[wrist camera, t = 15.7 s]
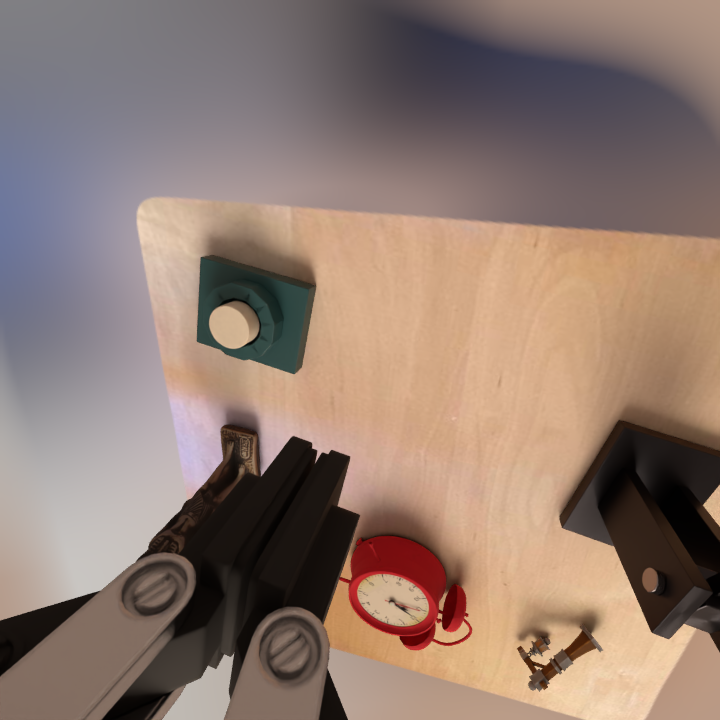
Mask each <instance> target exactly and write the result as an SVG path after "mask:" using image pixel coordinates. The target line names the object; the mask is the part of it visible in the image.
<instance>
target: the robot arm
mask: <svg viewBox="0 0 720 720" xmlns="http://www.w3.org/2000/svg"><path fill="white" fill-rule="evenodd" d="M316 456H317V450H315V449H312V443H311V442H309V441H306V440H303V439H300V438H298V437H295V436H293V437H291V438H290V440H289V441H288V442H287V444H286V445H285V446H284V448H283V449H282V450H281V452H280V453H279V454H278V455H277V457H276V458H275V459H274V461H273V462H272V463H271V465H270V466H269V467H268V469H267V470H266V471H265V472H264V474H263V475H262V476H261V477H260V476H257V475H255V474H252V473H247V474H245V475H244V476H243V477H242V478H241V479H240V481H239V482H238V483H237V484H236V485H235V487H234V488H233V489H232V490H231V491H230V493H229V494H228V495H227V496H226V497H225V499H224V500H223V501H222V502H221V503H220V505H219V506H218V507H217V508H216V510H215V511H214V512H213V513H212V514H211V516H210V517H209V518H208V519H207V520H206V522H205V523H204V524H203V525H202V526H201V528H200V529H199V530H198V531H197V532H196V534H195V535H194V536H193V537H192V538H191V540H190V541H189V542H188V543H187V544H186V546H185V547H184V548H183V549H182V550H181V552H180V553H179V554H175V553H165V552H164V553H158V554H152V555H149V556H147V557H144V558H142V559H140V560H138V561H137V562H135V563H134V564H132V565H131V566H130V567H128V568H127V569H126V570H125V571H123V572H122V573H121V574H120V575H119V576H117V577H116V578H115V579H114V580H113V581H112V582H111V583H109V584H108V585H107V586H106V587H105V588H103V589H102V590H101V591H98V592H94V593H91V594H88V595H84V596H81V597H78V598H74V599H71V600H68V601H64V602H61V603H58V604H54V605H51V606H47V607H44V608H41V609H37V610H34V611H31V612H27V613H24V614H21V615H17V616H14V617H11V618H7V619H4V620H1V621H0V720H162V719H163V718H164V716H165V715H166V714H167V712H168V711H169V709H170V708H171V707H172V705H173V704H174V703H175V701H176V700H177V699H178V697H179V696H180V695H181V693H182V691H183V690H184V688H185V686H186V684H188V683H191V682H193V681H195V680H197V679H199V678H201V677H202V675H203V673H204V672H205V670H206V668H207V666H208V665H209V666H211V667H213V668H215V669H216V668H217V666H218V665H219V663H220V661H221V659H222V657H223V655H224V654H225V655H227V656H230V657H231V656H232V655H233V654H234V659H233V667H232V673H231V680H230V687H229V695H230V703H229V706H228V709H227V712H226V715H225V718H224V720H348V719H347V716H346V714H345V711H344V708H343V706H342V704H341V701H340V698H339V696H338V693H337V691H336V688H335V686H334V683H333V681H332V678H331V676H330V673H329V671H328V668H327V667H328V660H329V647H330V643H329V639H328V635H327V631H326V629H325V628H324V626H323V624H324V621H325V618H326V616H327V613H328V610H329V607H330V604H331V601H332V598H333V595H334V593H335V590H336V587H337V584H338V581H339V578H340V575H341V572H342V570H343V567H344V564H345V561H346V558H347V555H348V552H349V549H350V546H351V543H352V540H353V536H354V533H355V530H356V527H357V524H358V520H359V517H360V515H359V514H356V513H353V512H351V511H348V510H346V509H343V508H340V507H338V502H339V498H340V495H341V491H342V487H343V483H344V480H345V476H346V472H347V469H348V465H349V461H350V456H347V455H344V454H342V453H339V452H336V451H333V450H331V451H330V453H329V454H326V453H323V452H322V453H321V455H320V457H319V458H318V460H317V462H316V463H315V461H316Z"/></svg>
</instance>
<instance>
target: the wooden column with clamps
mask: <svg viewBox="0 0 720 720" xmlns="http://www.w3.org/2000/svg"><path fill="white" fill-rule="evenodd" d="M580 627H581V629H582V632H581V633H580V635H579V636H578V637H577V638H576V639H575V640H574V641H573V643H572V644H571V645H570V646H569V647H568V648H566V649H565V650H563V649H562V650H561V651H560V652H559V653H558V654H556V655H554V659H552V658H551V659H549V660H550V662H549V663H548V664H547V665H546V666H545V665H542V664H539V663H536V662H533V661H532V660H531V659H530V656H531V655H535V653H536V654H537V653H538V654H540V655H541V656H542V653H543V652H544V651H546V650H550V649H549V647H548V646H547V645H549V644H550V639H549V638H547V637H546V638H544V640H543V639H542V638H541V636H540V638H539V639H538V640H537V641H536V642H534V643H533V641H532V644H533V647H532V649H533V650H532V649H531V648H530V651H529V653H526V652H525V651H524V649H523V648H522V647H521V646H520V647H518V648H517V650H518V651H519V653H520V656H521V657H522V659H523V660H524V662H525V663H526V664H527V665H528V667H529V669H530V670H531V672H532V674H533V675H531V676H529V677H530V679H531V681H530V682H529V683H528V686H529V688H530V689H531V690H533V691H534V690H535V689H536V688H537V689H538V690H539V692H540V690H541V689H542V688H543V689H544V690H545V689H546V688H548V686H547V684H550V683H549V682H548V681H549V680H550V679H551V678H553V677H554V676H555V675H556V674H558V673H559V674H561V673H562V672H561V670H564V671H565V670H566V668H568V667H569V666H570V665H572V664H573V663H572V661H574V660H575V659H576V658H578V657H580V656H581V655H583V654H585V653H587V652H589V651H591V650H593V649H596V648H597V649H598V650H599V651H600V652H601V651H604V650H603V649H602V648H601V646H600V645H599V644H598V642H597V641H596V640H595V639H594V637H593V636H592V635H591V634H590V632H589V631H588V630H587V629H586V627H585V626H584V625H583V624H582V625H581V626H580ZM530 652H531V653H532V654H531V653H530ZM528 654H530V656H528ZM535 656H536V655H535ZM534 666H537V667H540V668H543V669H542V670H540V669H538V670H536V668H535V667H534Z"/></svg>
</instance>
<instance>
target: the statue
mask: <svg viewBox="0 0 720 720" xmlns="http://www.w3.org/2000/svg"><path fill="white" fill-rule="evenodd" d="M221 443H222V452H223V461H222V462H221V464H220V465H219V466H218V467H217V468H216V470H215V471H214V472H213V474H212V475H211V476H210V478H209V479H208V480H207V481H206V483H205V484H204V485H203V486H202V487H201V488H200V489H199V490H198V491H197V492H196V493H195V495H194V496H193V497H192V498H191V499H189V500H187V501H186V502H185V503H184V505H183V507H182V509H181V511H180V512H178V513H177V514H176V515H175V516H174V517H173V518H172V519H171V520H170V521H169V522H168V523H167V524H166V526H165V527H164V528H163V529H162V530H161V531H160V532H158V533H157V534H156V536H155V537H154V538H153V539H152V540H151V542H150V544H149V546H148V550H147V551H146V552H145V553H144V554H143V555H142V556H140V557H139V558H138V560H140V559H142V558H144V557H147V556H149V555H152V554H158V553H164V552H165V553H175V554H179V553H180V552H181V550H182V549H183V548H184V547H185V546H186V544H187V543H188V542H189V541H190V540H191V538H192V537H193V536H194V535H195V534H196V532H197V531H198V530H199V529H200V528H201V526H202V525H203V524H204V523H205V522H206V520H207V519H208V518H209V517H210V516H211V514H212V513H213V512H214V511H215V510H216V508H217V507H218V506H219V505H220V503H221V502H222V501H223V500H224V499H225V497H226V496H227V495H228V494H229V493H230V491H231V490H232V489H233V488H234V487H235V485H236V484H237V483H238V482H239V481H240V479H241V478H242V477H243V476H244V475H245V474H247V473H252V474H255V475H257V476H260V477H261V471H260V461H259V445H258V435H257V433H256V432H254V431H252V430H249V429H246V428H242V427H238V426H234V425H230V424H229V425H224V426H223V427H222V428H221ZM138 560H137V561H138ZM137 561H136V562H137Z"/></svg>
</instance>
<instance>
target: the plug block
mask: <svg viewBox="0 0 720 720" xmlns="http://www.w3.org/2000/svg"><path fill="white" fill-rule="evenodd" d="M315 290H316V285H313V284H309V283H306V282H302V281H299V280H296V279H292V278H289V277H285V276H282V275H279V274H275V273H272V272H268V271H265V270H262V269H258V268H255V267H252V266H248V265H245V264H241V263H238V262H235V261H231V260H228V259H224V258H221V257H218V256H214V255H210V256H205V257H201V263H200V284H199V305H198V326H197V342H199V343H202V344H205V345H208V346H211V347H214V348H217V349H220V350H222V351H223V352H224V353H225V354H226V355H229V356H232V357H235V358H238V359H241V360H248V359H250V360H253V361H256V362H259V363H262V364H265V365H268V366H271V367H274V368H277V369H280V370H283V371H286V372H289V373H292V374H295V373H296V372H297V371H298V370H299V369H300V368H301V367H302V363H303V357H304V352H305V346H306V340H307V335H308V329H309V324H310V318H311V312H312V307H313V301H314V296H315ZM232 301H240V302H243V303H246V304H247V305H249V306H250V307H251V308H252V309H253V310H254V311H255V313H256V314H257V316H258V319H259V332H258V334H257V336H256V337H255V338H254V339H253V340H252V341H250V342H248V343H247V344H245V345H244V346H242V347H240V348H236V349H231V348H227V347H224V346H223V345H221V344H220V343H219V342H217V341H216V339H215V338H214V337H213V335H212V333H211V330H210V327H209V319H210V315H211V313H212V312H213V311H214V309H216V308H217V307H219V306H222V305H224V304H227V303H229V302H232Z"/></svg>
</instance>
